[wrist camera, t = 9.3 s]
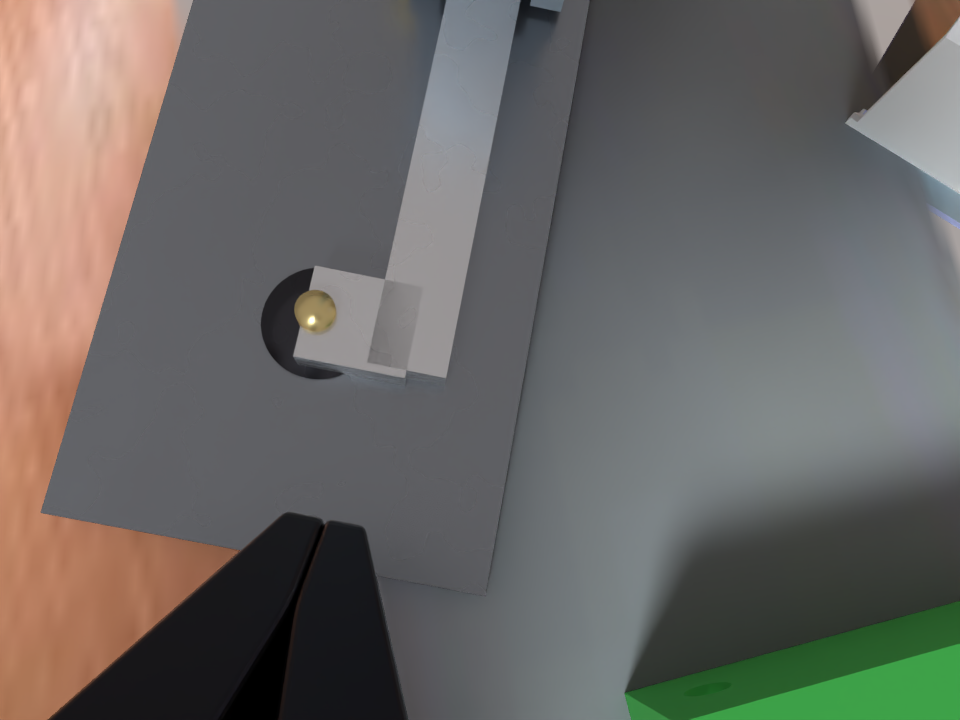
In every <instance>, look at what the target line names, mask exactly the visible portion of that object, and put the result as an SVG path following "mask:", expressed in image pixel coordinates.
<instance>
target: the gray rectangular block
mask: <svg viewBox="0 0 960 720" xmlns="http://www.w3.org/2000/svg"><path fill="white" fill-rule="evenodd" d="M563 2H564V0H531V3H530V6H534V7H539V8H544V9H548V10H553V11H558V12H561V9H562V6H563Z"/></svg>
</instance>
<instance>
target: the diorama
mask: <svg viewBox="0 0 960 720" xmlns="http://www.w3.org/2000/svg"><path fill="white" fill-rule="evenodd" d="M880 62H881V65H882V68H883V71H884V74H885V77H886V80H887V84H888V87H889V90H888V91H887V92H886V93H885V94H884V95H883V96H882V97H881V98H880V99H879V100H878V101H877V102H876V103H875V104H874V105H873V106H872V107H871V108H870V109H869V110H865V109H863V110H862V111H861V112H859V113H857V112H854V113H853V114H852V115H851V116H850V117H849V118H848V119H847V121H846V123H845V124H847V125H849V126H850V127H852V128H854V129H855V130H857V131H858V132H860V133H862V134H863V135H865V136H867V137H868V138H870V139H872V140H873V141H875V142H876V143H878V144H880V145H881V146H883V147H885V148H886V149H888V150H890V151H891V152H893V153H895V154H896V155H898V156H899V157H901V158H903V159H904V160H906V161H908V162H909V163H911V164H913V165H914V166H916V167H917V168H919V169H920V171H921V174H922V177H923V180H924V183H925V186H926V189H927V192H928V194H929V197H930V200H931V202H932V205H933V207H934V210H935V212H936V214H937V216H939V217H940V218H942V219H944V220H945V221H947V222H949V223H950V224H952V225H953V226H955V227H957V228H958V229H960V16H959V17H958V19H957V20H956V21H955V23H954V24H953V25H952V27H951V28H950V29H949V31H948V32H947V33H946V34H945V35H944V36H943V37H942V38H941V39H940V40H939V41H938V42H937V43H936V44H935V45H934V46H933V45H932V42H931V39H930V37H929V34H928V32H927V29H926V27H925V24H924V22H923V19H922V17H921V15H920V13H919V11H918V8H917V6H916V4H915V2H914V3H913V5H912V7H911V9H910V10H909V12H908V14H907V15H906V17H905V19H904V21H903V22H902V24H901V26H900V27H899V29H898V31H897V33H896V34H895V36H894V38H893V40H892V41H891V43H890V44H889V46H888V48H887V49H886V51H885V53H884V55H883V56H882V58H881V60H880Z"/></svg>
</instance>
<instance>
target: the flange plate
mask: <svg viewBox="0 0 960 720" xmlns="http://www.w3.org/2000/svg"><path fill="white" fill-rule="evenodd" d="M589 2H590V0H564V2H563V6H562V9H561V12H558V11H553V10H548V9H544V8H539V7H534V6H530V3H531V0H193V3H192V6H191V10H190V13H189V16H188V20H187V23H186V27H185V30H184V33H183V37H182V40H181V43H180V47H179V50H178V53H177V57H176V60H175V63H174V67H173V70H172V73H171V77H170V80H169V84H168V87H167V90H166V94H165V97H164V100H163V104H162V107H161V110H160V114H159V117H158V120H157V124H156V127H155V131H154V134H153V137H152V141H151V144H150V147H149V151H148V154H147V157H146V161H145V164H144V167H143V171H142V174H141V178H140V181H139V184H138V188H137V191H136V194H135V198H134V201H133V204H132V208H131V211H130V214H129V218H128V221H127V225H126V228H125V231H124V235H123V238H122V241H121V245H120V248H119V251H118V255H117V258H116V261H115V265H114V268H113V272H112V275H111V278H110V282H109V285H108V288H107V292H106V295H105V298H104V302H103V305H102V308H101V312H100V315H99V318H98V322H97V325H96V329H95V332H94V335H93V339H92V342H91V345H90V349H89V352H88V355H87V359H86V362H85V365H84V369H83V372H82V376H81V379H80V382H79V386H78V389H77V392H76V396H75V399H74V402H73V406H72V409H71V412H70V416H69V419H68V423H67V426H66V429H65V433H64V436H63V439H62V443H61V446H60V449H59V453H58V456H57V459H56V463H55V466H54V470H53V473H52V476H51V480H50V483H49V486H48V490H47V493H46V496H45V500H44V503H43V506H42V510H41V513H44V514H50V515H55V516H60V517H66V518H71V519H76V520H82V521H87V522H92V523H98V524H103V525H108V526H114V527H119V528H124V529H130V530H135V531H140V532H146V533H151V534H156V535H162V536H167V537H172V538H178V539H183V540H188V541H194V542H199V543H204V544H210V545H215V546H220V547H226V548H231V549H236V550H242V549H243V548H244V547H245V546H246V545H247V544H249V543H250V542H251V541H252V540H253V539H254V538H255V537H257V536H258V535H259V534H260V533H261V532H262V531H263V530H265V529H266V528H267V527H268V526H269V525H270V524H271V523H273V522H274V521H275V520H276V519H277V518H278V517H279V516H281V515H282V514H284V513H286V512H294V513H300V514H305V515H310V516H315V517H319V518H321V519H322V520H323V522H324V524H325V523H326V522H327V521H329V520H336V521H342V522H347V523H352V524H357V525H361V526H363V527H364V528H365V530H366V532H367V536H368V541H369V545H370V550H371V554H372V559H373V563H374V568H375V572H376V576H381V577H386V578H391V579H397V580H402V581H407V582H413V583H418V584H423V585H429V586H434V587H439V588H445V589H450V590H455V591H461V592H466V593H471V594H477V595H482V596H486V590H487V584H488V579H489V573H490V567H491V562H492V556H493V550H494V544H495V539H496V533H497V527H498V522H499V516H500V510H501V505H502V499H503V493H504V487H505V482H506V476H507V470H508V465H509V459H510V453H511V447H512V442H513V436H514V430H515V425H516V419H517V413H518V407H519V402H520V396H521V390H522V385H523V379H524V373H525V367H526V362H527V356H528V350H529V345H530V339H531V333H532V328H533V322H534V316H535V310H536V305H537V299H538V293H539V288H540V282H541V276H542V270H543V265H544V259H545V253H546V248H547V242H548V236H549V230H550V225H551V219H552V213H553V208H554V202H555V196H556V190H557V185H558V179H559V173H560V168H561V162H562V156H563V151H564V145H565V139H566V133H567V128H568V122H569V116H570V111H571V105H572V99H573V93H574V88H575V82H576V76H577V71H578V65H579V59H580V53H581V48H582V42H583V36H584V31H585V25H586V19H587V13H588V8H589Z"/></svg>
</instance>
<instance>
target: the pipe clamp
mask: <svg viewBox="0 0 960 720" xmlns="http://www.w3.org/2000/svg"><path fill="white" fill-rule="evenodd" d="M625 697H626V701H627V705H628V709H629V713H630V716H631V720H960V601H958V602H954V603H950V604H947V605H943V606H939V607H936V608H932V609H928V610H925V611H921V612H918V613H914V614H910V615H907V616H903V617H899V618H896V619H892V620H888V621H885V622H881V623H877V624H874V625H870V626H866V627H863V628H859V629H855V630H852V631H848V632H845V633H841V634H837V635H834V636H830V637H826V638H823V639H819V640H815V641H812V642H808V643H804V644H801V645H797V646H793V647H790V648H786V649H782V650H779V651H775V652H772V653H768V654H764V655H761V656H757V657H753V658H750V659H746V660H742V661H739V662H735V663H731V664H728V665H724V666H720V667H717V668H713V669H710V670H706V671H702V672H699V673H695V674H691V675H688V676H684V677H680V678H677V679H673V680H669V681H666V682H662V683H658V684H655V685H651V686H647V687H644V688H640V689H637V690H633V691H629V692H626V693H625Z"/></svg>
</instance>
